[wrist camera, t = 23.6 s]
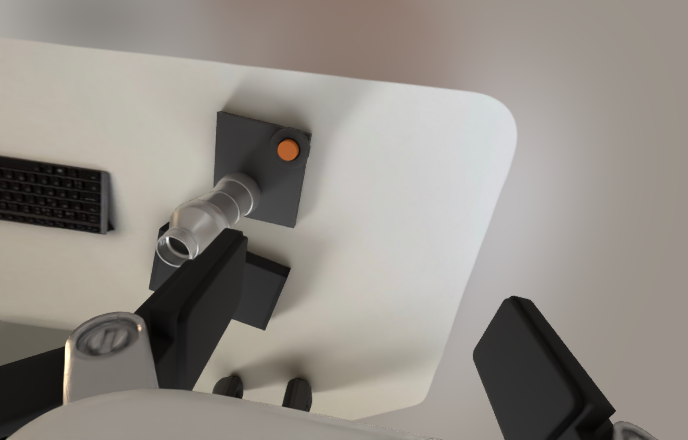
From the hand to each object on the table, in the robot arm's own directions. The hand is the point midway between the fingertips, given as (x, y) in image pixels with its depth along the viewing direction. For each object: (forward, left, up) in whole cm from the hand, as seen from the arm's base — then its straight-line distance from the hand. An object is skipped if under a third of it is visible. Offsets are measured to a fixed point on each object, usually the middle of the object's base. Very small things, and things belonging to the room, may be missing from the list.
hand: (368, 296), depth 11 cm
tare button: (+4, -10, -36) cm, 37 cm away
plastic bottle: (+13, -17, -37) cm, 42 cm away
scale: (+10, -15, -38) cm, 42 cm away
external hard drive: (+32, -20, -38) cm, 54 cm away
